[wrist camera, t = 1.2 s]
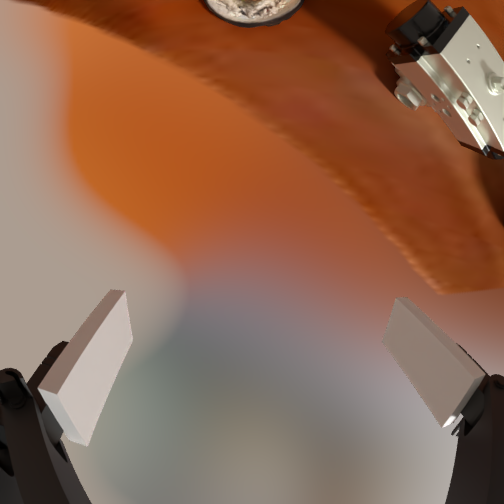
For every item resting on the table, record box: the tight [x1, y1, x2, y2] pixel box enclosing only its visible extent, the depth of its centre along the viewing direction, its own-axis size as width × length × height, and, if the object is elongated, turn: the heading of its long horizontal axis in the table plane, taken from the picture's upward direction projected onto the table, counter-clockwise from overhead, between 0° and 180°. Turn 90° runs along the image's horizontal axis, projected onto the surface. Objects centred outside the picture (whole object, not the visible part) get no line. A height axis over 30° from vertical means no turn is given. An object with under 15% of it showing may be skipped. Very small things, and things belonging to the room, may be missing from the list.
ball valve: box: [385, 0, 504, 159], centre depth 19 cm, size 18×8×18 cm, turn 55°
